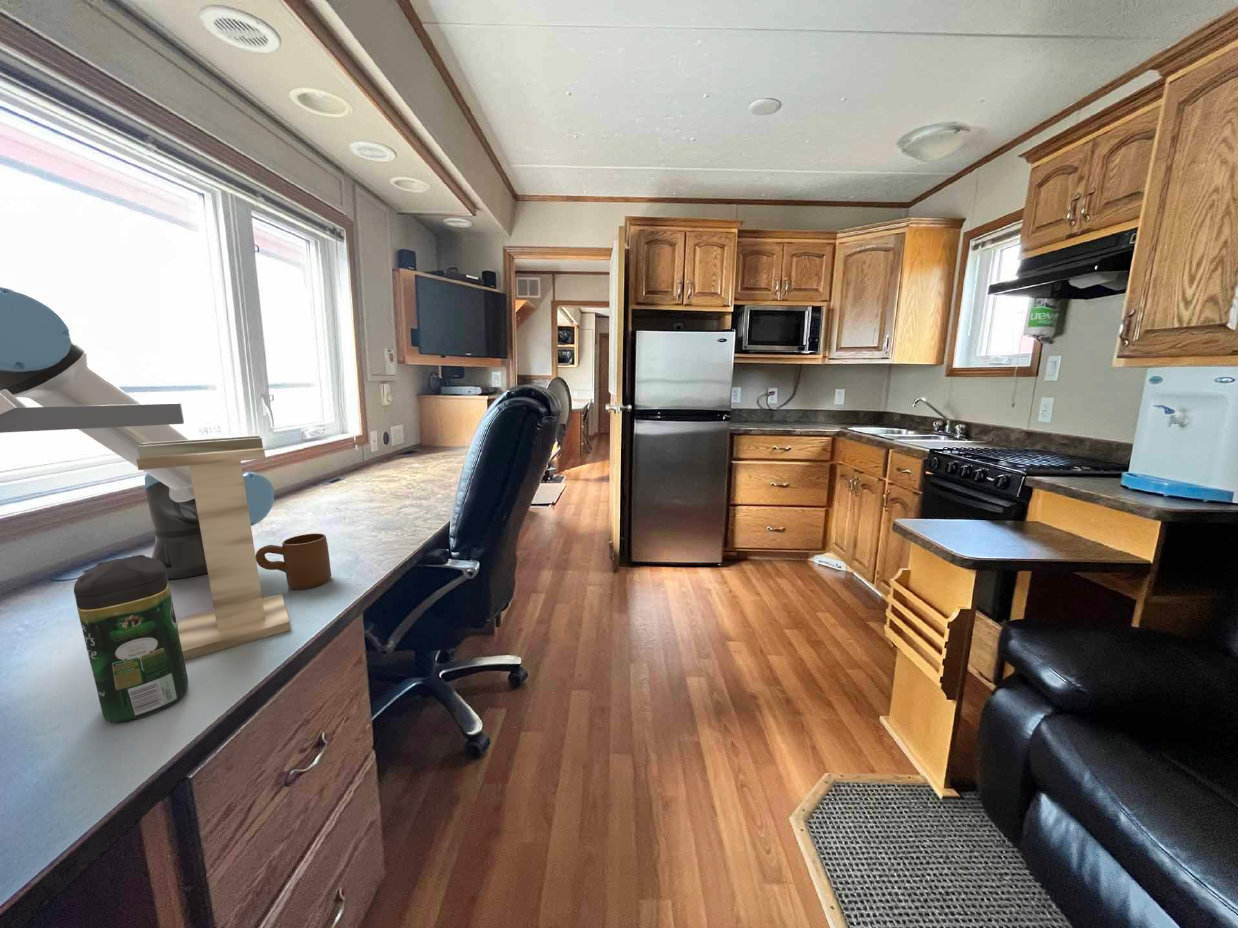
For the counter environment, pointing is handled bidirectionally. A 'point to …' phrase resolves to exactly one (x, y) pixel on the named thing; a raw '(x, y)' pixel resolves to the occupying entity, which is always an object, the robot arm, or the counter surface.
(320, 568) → the mug
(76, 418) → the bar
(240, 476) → the stand
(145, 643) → the coffee jar
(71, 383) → the robot arm
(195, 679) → the counter surface
